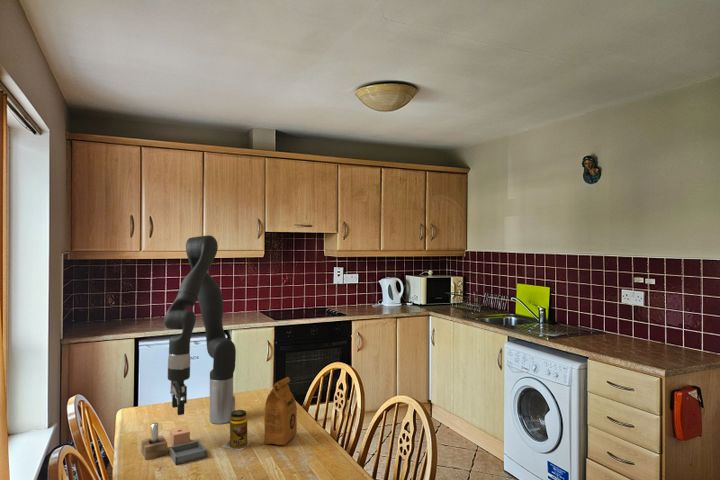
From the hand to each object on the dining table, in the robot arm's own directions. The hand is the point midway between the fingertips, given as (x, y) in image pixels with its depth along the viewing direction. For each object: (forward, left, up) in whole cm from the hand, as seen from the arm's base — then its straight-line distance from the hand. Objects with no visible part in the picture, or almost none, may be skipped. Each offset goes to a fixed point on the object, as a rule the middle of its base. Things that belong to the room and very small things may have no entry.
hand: (178, 410), depth 174 cm
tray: (-1, +11, -12) cm, 16 cm away
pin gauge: (+8, +2, -12) cm, 15 cm away
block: (-1, 0, -12) cm, 12 cm away
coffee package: (-33, +16, -12) cm, 39 cm away
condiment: (-18, +11, -12) cm, 24 cm away
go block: (+8, +2, -12) cm, 15 cm away
